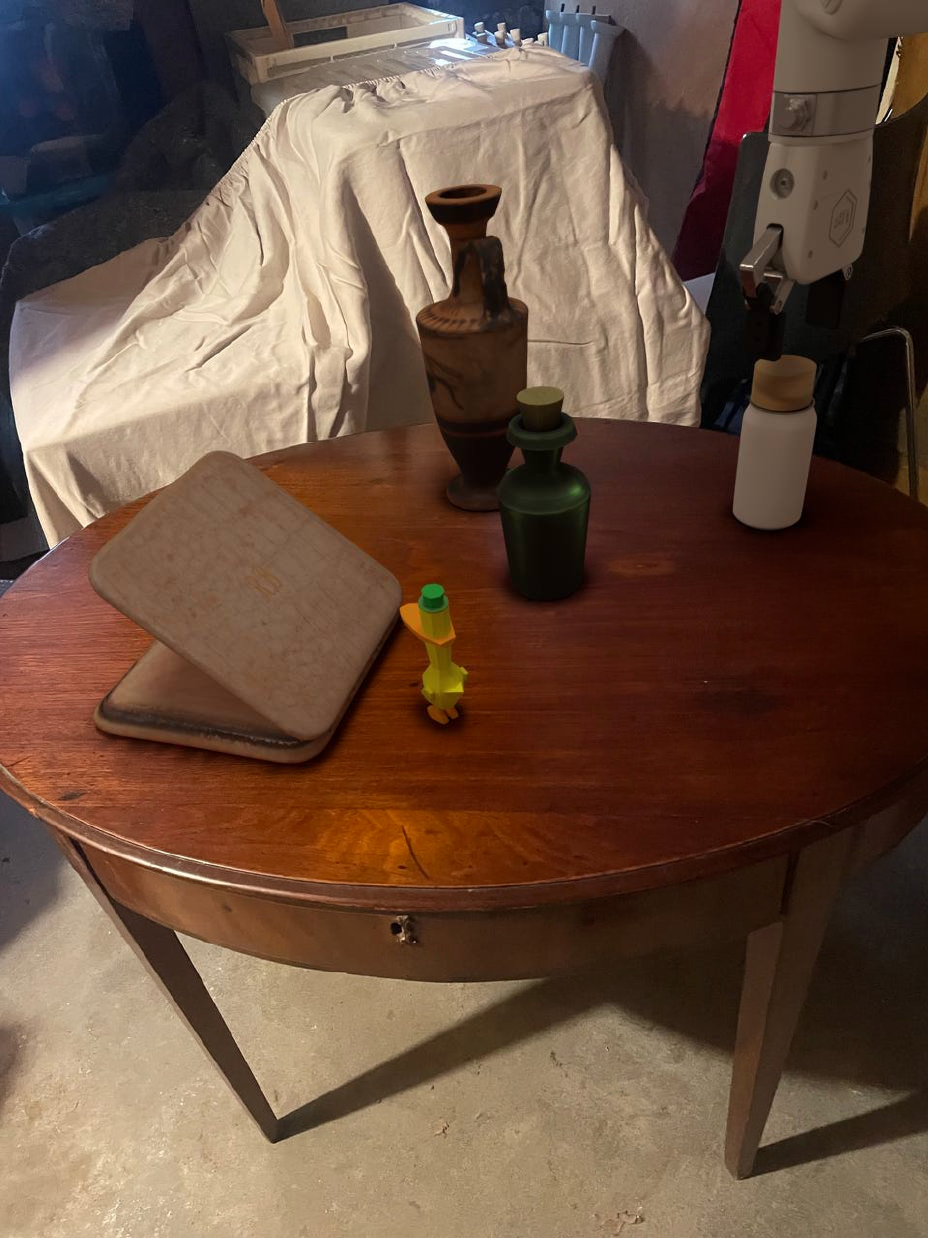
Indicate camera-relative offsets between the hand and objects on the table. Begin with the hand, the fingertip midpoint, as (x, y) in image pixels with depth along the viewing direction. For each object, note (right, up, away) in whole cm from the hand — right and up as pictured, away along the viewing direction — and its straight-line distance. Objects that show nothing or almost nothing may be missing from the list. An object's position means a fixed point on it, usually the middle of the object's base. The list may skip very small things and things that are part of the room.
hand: (793, 341), depth 76 cm
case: (-46, -28, -2) cm, 54 cm away
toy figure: (-30, -31, -8) cm, 44 cm away
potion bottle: (-21, -21, +5) cm, 30 cm away
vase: (-26, -11, +19) cm, 34 cm away
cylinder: (0, -4, +4) cm, 6 cm away
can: (+1, -14, +11) cm, 18 cm away
